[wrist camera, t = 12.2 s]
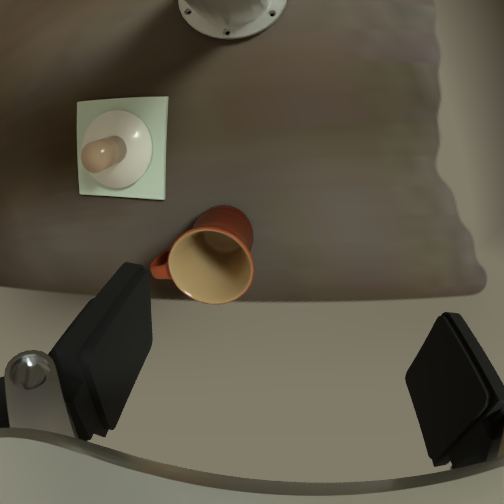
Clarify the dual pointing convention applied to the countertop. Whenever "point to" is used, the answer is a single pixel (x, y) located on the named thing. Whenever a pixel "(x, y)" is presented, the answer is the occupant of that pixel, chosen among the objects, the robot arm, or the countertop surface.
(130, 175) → the lid
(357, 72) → the countertop surface
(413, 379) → the robot arm
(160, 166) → the mat
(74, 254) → the countertop surface
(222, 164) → the countertop surface
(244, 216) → the mug
